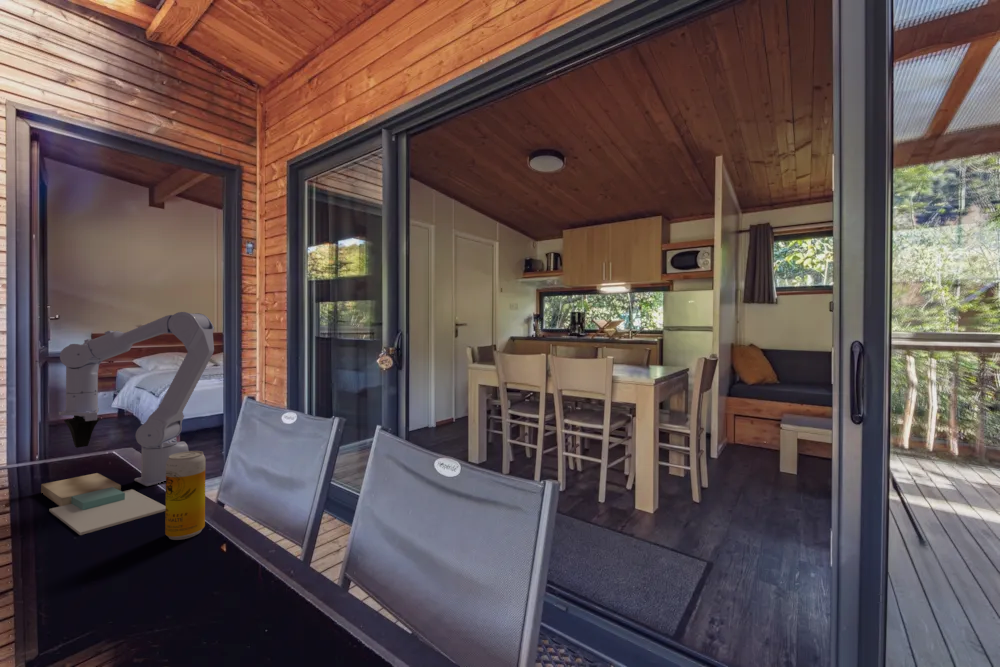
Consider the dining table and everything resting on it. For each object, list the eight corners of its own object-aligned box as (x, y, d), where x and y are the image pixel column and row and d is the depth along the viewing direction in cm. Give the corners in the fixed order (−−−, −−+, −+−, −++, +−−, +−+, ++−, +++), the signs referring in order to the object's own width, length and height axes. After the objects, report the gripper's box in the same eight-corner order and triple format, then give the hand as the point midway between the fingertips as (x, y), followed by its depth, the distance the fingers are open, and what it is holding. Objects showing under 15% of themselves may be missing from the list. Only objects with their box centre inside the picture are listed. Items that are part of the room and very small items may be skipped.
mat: (132, 491, 103) (132, 489, 103) (168, 509, 93) (168, 507, 93) (49, 511, 92) (49, 508, 92) (80, 535, 81) (80, 532, 81)
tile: (112, 493, 101) (112, 487, 101) (124, 499, 97) (124, 492, 97) (71, 503, 95) (71, 496, 95) (83, 510, 91) (83, 503, 91)
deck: (97, 480, 111) (97, 472, 111) (120, 493, 102) (120, 485, 102) (41, 492, 102) (41, 484, 102) (61, 507, 94) (61, 498, 94)
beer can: (157, 538, 80) (157, 457, 80) (189, 524, 86) (189, 449, 86) (181, 543, 78) (182, 460, 78) (212, 529, 84) (213, 451, 84)
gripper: (51, 391, 109) (50, 445, 109) (69, 396, 101) (68, 454, 101) (88, 388, 115) (88, 440, 114) (108, 393, 107) (107, 448, 107)
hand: (81, 446), depth 108 cm, fingers closed
